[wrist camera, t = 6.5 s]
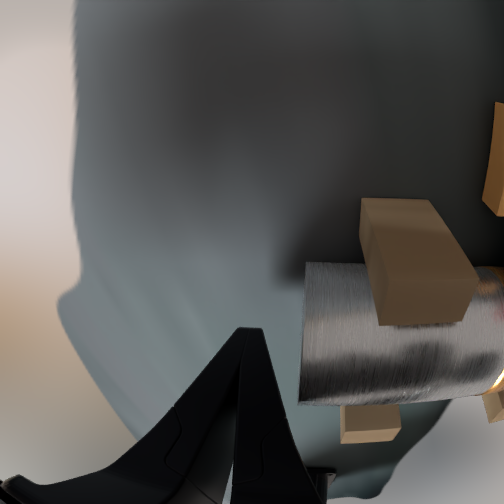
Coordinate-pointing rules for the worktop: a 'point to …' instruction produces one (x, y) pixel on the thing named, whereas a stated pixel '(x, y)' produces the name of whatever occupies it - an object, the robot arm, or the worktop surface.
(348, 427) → the brown piece
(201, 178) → the worktop surface
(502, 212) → the tan wooden block
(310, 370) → the tube
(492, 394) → the collar
